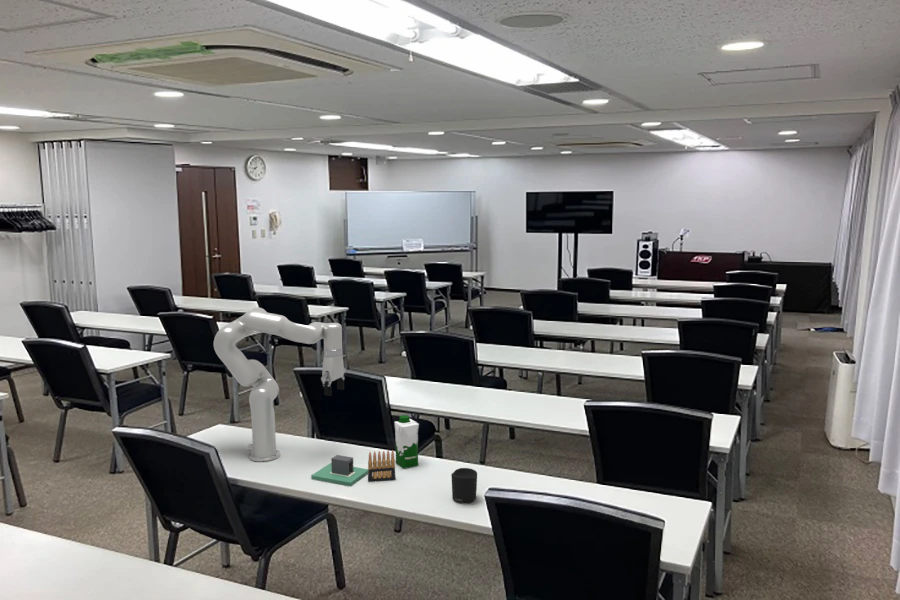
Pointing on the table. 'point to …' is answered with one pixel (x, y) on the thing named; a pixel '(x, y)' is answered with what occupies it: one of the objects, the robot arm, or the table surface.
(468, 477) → the pen holder
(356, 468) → the header board
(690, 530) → the table surface
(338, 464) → the block
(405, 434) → the milk carton
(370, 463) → the ammunition clip
